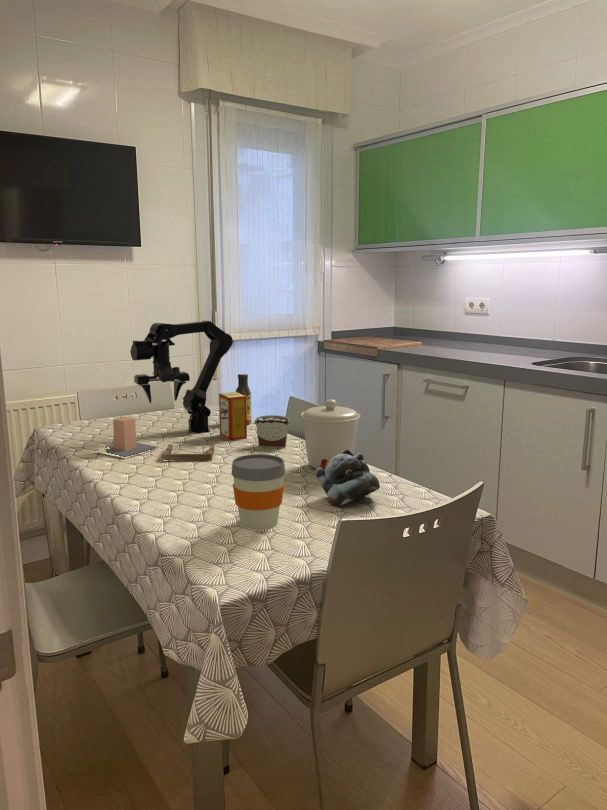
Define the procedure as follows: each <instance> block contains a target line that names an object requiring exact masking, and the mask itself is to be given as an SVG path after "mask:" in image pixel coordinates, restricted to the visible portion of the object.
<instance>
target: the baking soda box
mask: <svg viewBox="0 0 607 810" xmlns="http://www.w3.org/2000/svg"><path fill="white" fill-rule="evenodd" d="M218 396H219V397H218V402H219V403H218V405H219V407H218V410H219V411H218V413H219V436H221V437H222V436H223V437H222V438H224V439H225V440H228V441H229V442H232V441H239V440H245V439H247V438H248V432H247V431H248V429H247V428H248V427H247V425H248V424H247V414H246V396H244V395H242V394H239V393H237V392H236V391H231V392H230V391H229V392H221V393H218Z"/></svg>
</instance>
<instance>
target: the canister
mask: <svg viewBox="0 0 607 810" xmlns="http://www.w3.org/2000/svg"><path fill="white" fill-rule="evenodd" d="M300 417H301V418H302V423H303V431H304V433H303V434H304V442H305V451H306V458H307V461H308V464H309V466H310V467H312V468H313V469H315V470H317V468H319V467H320V464H321V460H322V459H327V460H330V459H331V458H332V457H334V456H336V455H338V454H342V453H343V452H344V451H345V450H349V451H350V452H351V453H352V454H353V455H354V453H355V446H356V439H357V430H358V425H359V424H358V422H359V419H360V418H361V414H360V413H358V412H357V411H356V410H354V409H352V408H350V407H345V406H338V405H337V401H336V399H327V400H326V401H325V402H324V405H320V406H314V407H309V408H307V409H305V411H303V412H301V413H300Z"/></svg>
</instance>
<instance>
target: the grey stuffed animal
mask: <svg viewBox="0 0 607 810" xmlns="http://www.w3.org/2000/svg"><path fill="white" fill-rule="evenodd" d="M314 474H315V477H316V478H317V480H318V481H317V482H318V483H319V485H320V486H321V487H322V489H323V491H324V493H325V495H326V497H327V501H328V503H329V504H330V505H331V506H334V507H337V508H340V507H342V506H343V505H345V504H348V503H351V502H354V501H355V500H358V499H361V498H363V497H366V496H368V495H370V494H371V493H374V492H376V491H378V490H379V489H380V488H381V486H380V485H381V484H380V481H379V479H378V477H377V476H376V475H375V474H374V473H372V472H370V467H369V466H368V464H367V462H366V460H365V457H364V455H363V454H362V453H357V454H354V453H353V454H352V453H351V452H350V451H349V450H345V451H344V452H343V453H342V454H338V455H336V456H334V457H332V458H331V459H330V460H327V459H322V460H321V464H320V467H319V468H317V469H315V470H314Z"/></svg>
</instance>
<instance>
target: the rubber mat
mask: <svg viewBox="0 0 607 810" xmlns="http://www.w3.org/2000/svg"><path fill="white" fill-rule="evenodd" d="M136 444H137V448H133V449H130V450H127V451H123V450H118V449H115V446H114V444H111V445H107V446H108V447H109V448H110V449H106V452H107V453H111V454H115V455H119V456H123V457H127V456H131V455H135V454H138V453H141V452H145V451H148V450H152V449H155V448H156V449H157V446H156V445H152V444H151V445H150V444H146V443H142V442H136ZM104 447H105V448H107V447H106V446H104ZM152 451H153V450H152Z"/></svg>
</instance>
